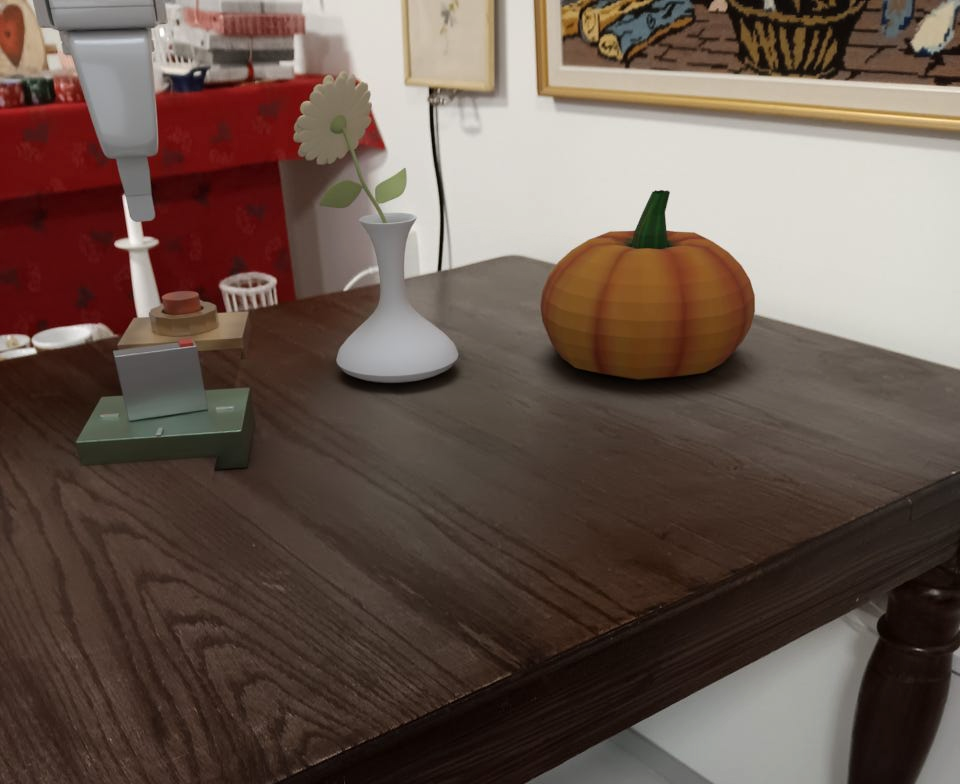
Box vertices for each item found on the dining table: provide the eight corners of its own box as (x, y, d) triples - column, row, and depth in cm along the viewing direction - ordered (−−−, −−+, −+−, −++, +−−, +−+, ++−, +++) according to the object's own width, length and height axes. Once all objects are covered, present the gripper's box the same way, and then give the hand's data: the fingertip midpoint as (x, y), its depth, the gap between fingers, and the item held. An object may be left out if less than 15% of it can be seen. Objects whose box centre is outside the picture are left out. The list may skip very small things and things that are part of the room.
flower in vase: (430, 349, 100) (415, 63, 86) (479, 381, 91) (470, 68, 78) (306, 370, 95) (269, 71, 82) (344, 405, 87) (310, 77, 73)
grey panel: (129, 421, 76) (113, 353, 73) (127, 414, 77) (111, 347, 74) (208, 409, 78) (196, 342, 75) (205, 403, 79) (193, 337, 76)
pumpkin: (503, 374, 93) (500, 201, 85) (599, 324, 106) (605, 171, 98) (696, 410, 83) (714, 219, 75) (775, 350, 97) (798, 183, 89)
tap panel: (84, 480, 74) (74, 440, 72) (109, 431, 83) (100, 394, 81) (247, 468, 75) (240, 428, 74) (255, 421, 84) (249, 384, 82)
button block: (121, 367, 97) (112, 326, 95) (138, 338, 106) (129, 300, 104) (245, 359, 99) (239, 318, 96) (251, 331, 107) (246, 293, 105)
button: (162, 318, 99) (159, 300, 98) (167, 309, 102) (164, 292, 101) (199, 316, 99) (196, 298, 98) (203, 307, 102) (200, 290, 101)
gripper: (54, 0, 77) (96, 192, 84) (47, -3, 61) (99, 236, 68) (139, -2, 79) (172, 187, 86) (153, -6, 62) (193, 229, 70)
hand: (140, 209), depth 77 cm, fingers open, 8 cm apart
